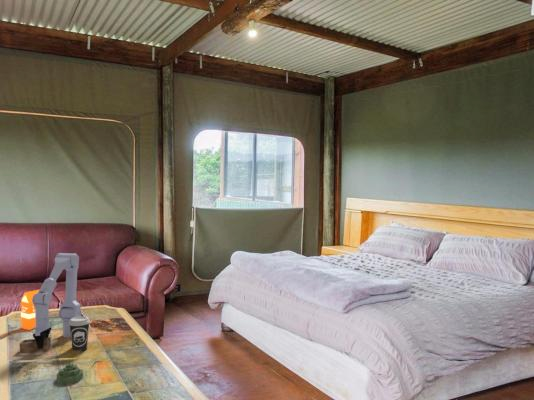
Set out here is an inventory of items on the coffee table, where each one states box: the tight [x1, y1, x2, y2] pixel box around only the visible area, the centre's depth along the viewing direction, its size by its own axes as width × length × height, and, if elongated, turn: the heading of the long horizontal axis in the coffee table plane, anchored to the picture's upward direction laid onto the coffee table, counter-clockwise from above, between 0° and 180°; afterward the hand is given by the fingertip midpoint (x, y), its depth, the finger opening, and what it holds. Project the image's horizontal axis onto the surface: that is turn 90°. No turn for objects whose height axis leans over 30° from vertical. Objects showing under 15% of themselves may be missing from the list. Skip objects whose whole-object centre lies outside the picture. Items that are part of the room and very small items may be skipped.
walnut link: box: [18, 336, 52, 353], centre depth 222 cm, size 12×6×4 cm, turn 99°
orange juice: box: [20, 289, 40, 330], centre depth 261 cm, size 8×9×20 cm
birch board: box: [16, 339, 59, 357], centre depth 226 cm, size 13×20×1 cm, turn 9°
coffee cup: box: [69, 315, 91, 353], centre depth 226 cm, size 10×10×15 cm
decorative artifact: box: [56, 361, 84, 385], centre depth 193 cm, size 10×7×10 cm
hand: (42, 346), depth 223 cm, fingers closed on walnut link, 5 cm apart
